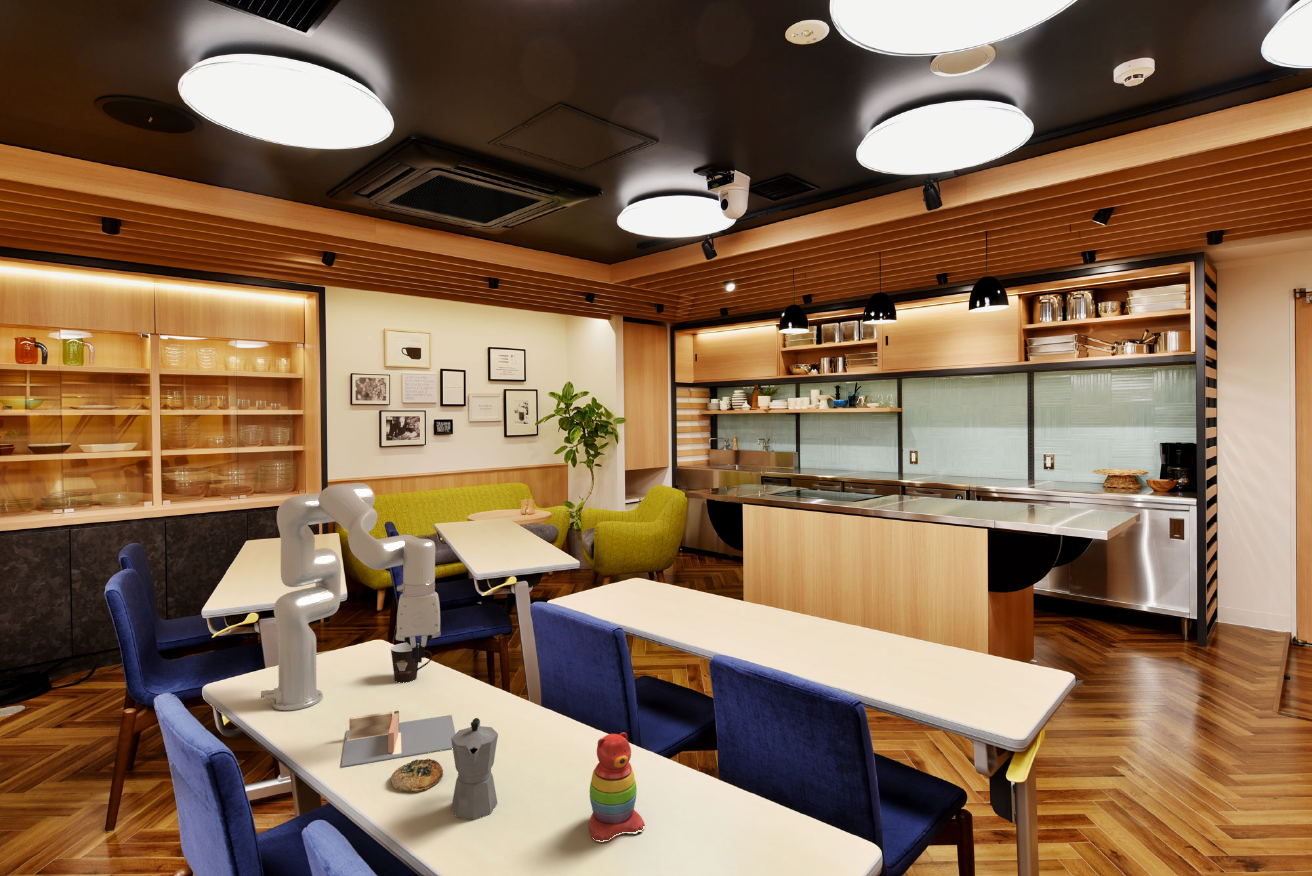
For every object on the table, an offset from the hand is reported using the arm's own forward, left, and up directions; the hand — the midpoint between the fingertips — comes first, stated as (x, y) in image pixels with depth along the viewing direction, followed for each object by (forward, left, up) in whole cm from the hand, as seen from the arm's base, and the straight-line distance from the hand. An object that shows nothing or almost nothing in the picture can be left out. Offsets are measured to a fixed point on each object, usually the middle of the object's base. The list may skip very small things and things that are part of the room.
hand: (418, 660), depth 167 cm
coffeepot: (+10, -35, -20) cm, 41 cm away
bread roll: (-1, -20, -20) cm, 29 cm away
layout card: (-4, +1, -20) cm, 20 cm away
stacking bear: (+35, -52, -20) cm, 65 cm away
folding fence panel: (-6, -1, -19) cm, 20 cm away
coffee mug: (-1, +41, -20) cm, 46 cm away
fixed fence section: (-11, +5, -20) cm, 23 cm away
